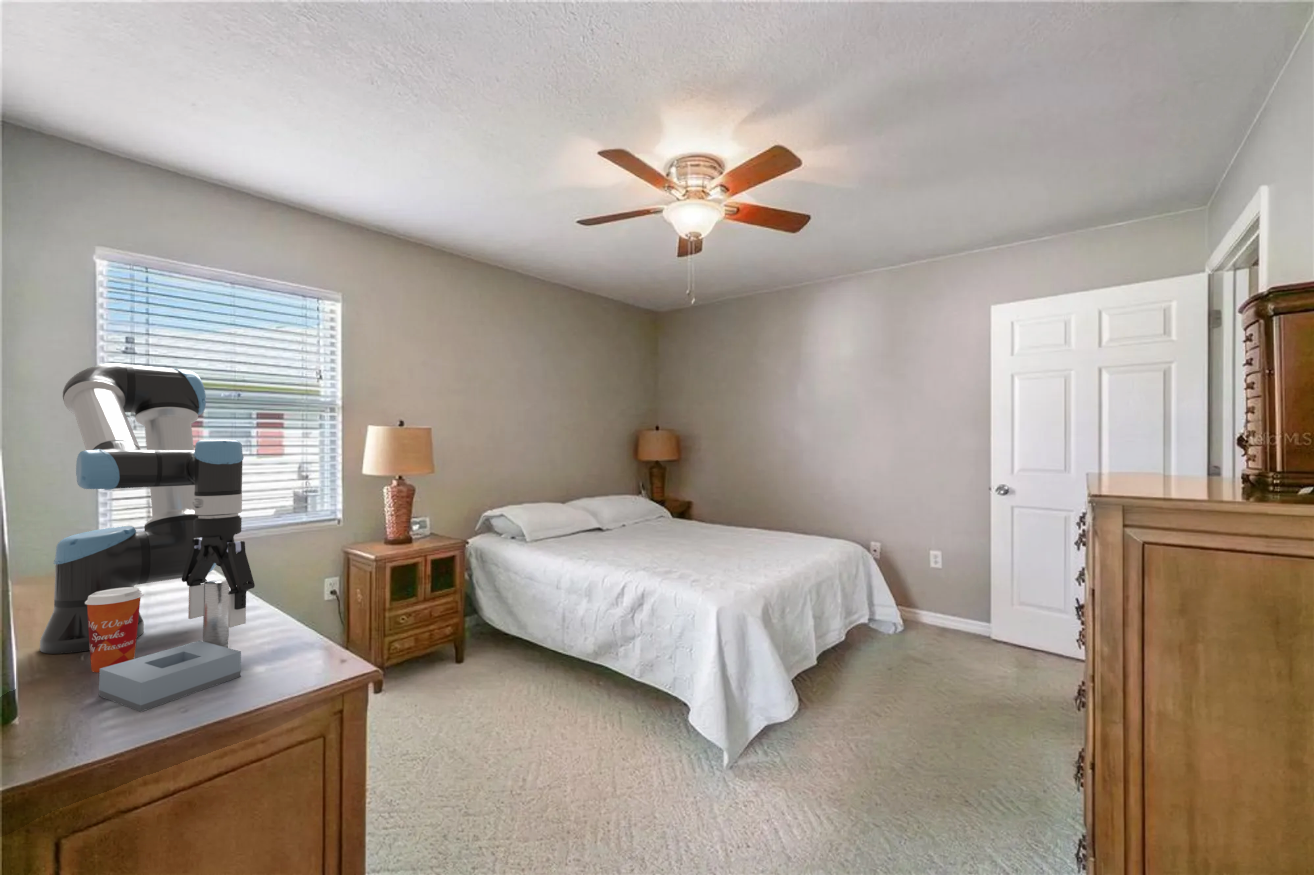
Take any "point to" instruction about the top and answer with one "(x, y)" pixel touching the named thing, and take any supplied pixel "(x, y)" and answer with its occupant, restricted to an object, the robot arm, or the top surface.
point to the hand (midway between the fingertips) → (216, 621)
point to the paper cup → (113, 626)
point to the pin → (216, 613)
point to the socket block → (168, 674)
